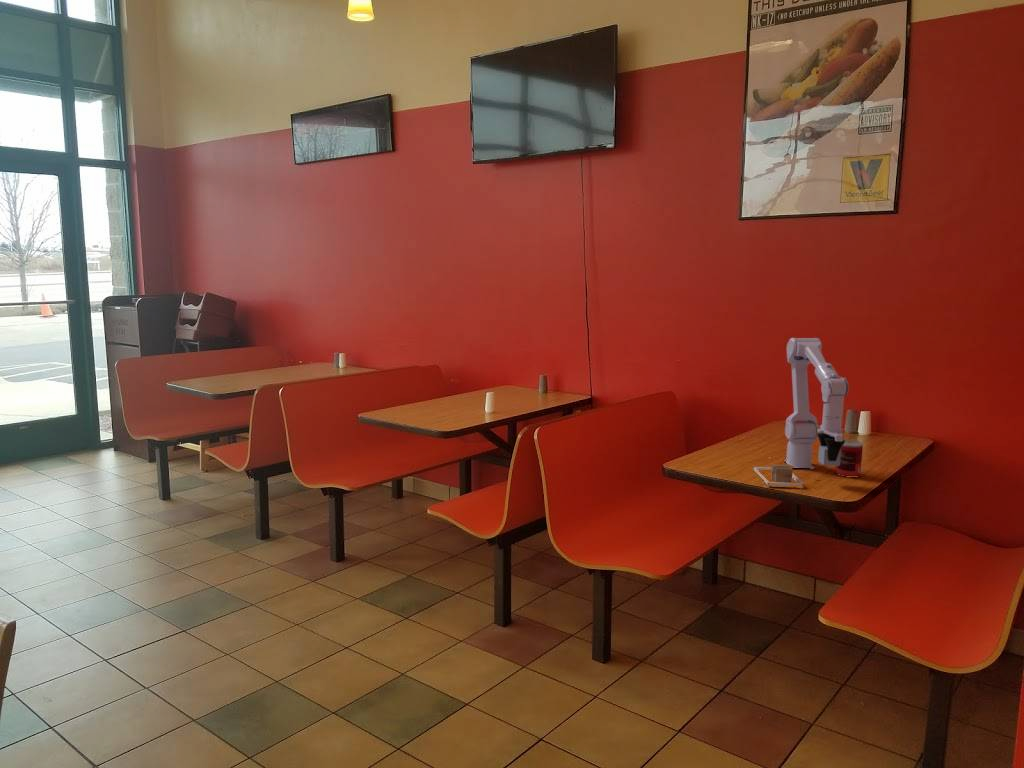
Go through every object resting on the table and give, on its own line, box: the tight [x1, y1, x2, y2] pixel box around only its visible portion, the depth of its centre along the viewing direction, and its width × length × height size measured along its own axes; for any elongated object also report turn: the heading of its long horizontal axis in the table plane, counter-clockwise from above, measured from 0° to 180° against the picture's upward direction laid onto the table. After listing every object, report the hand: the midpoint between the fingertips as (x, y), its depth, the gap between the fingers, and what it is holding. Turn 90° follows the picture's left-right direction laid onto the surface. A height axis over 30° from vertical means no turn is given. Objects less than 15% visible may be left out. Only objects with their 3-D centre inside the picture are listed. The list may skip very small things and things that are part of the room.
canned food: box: [835, 439, 864, 477], centre depth 256 cm, size 8×8×11 cm
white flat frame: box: [752, 466, 805, 488], centre depth 251 cm, size 18×11×2 cm, turn 176°
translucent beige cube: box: [771, 464, 794, 483], centre depth 246 cm, size 5×5×5 cm
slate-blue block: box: [817, 445, 841, 467], centre depth 245 cm, size 5×5×5 cm
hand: (829, 458), depth 245 cm, fingers closed on slate-blue block, 5 cm apart
